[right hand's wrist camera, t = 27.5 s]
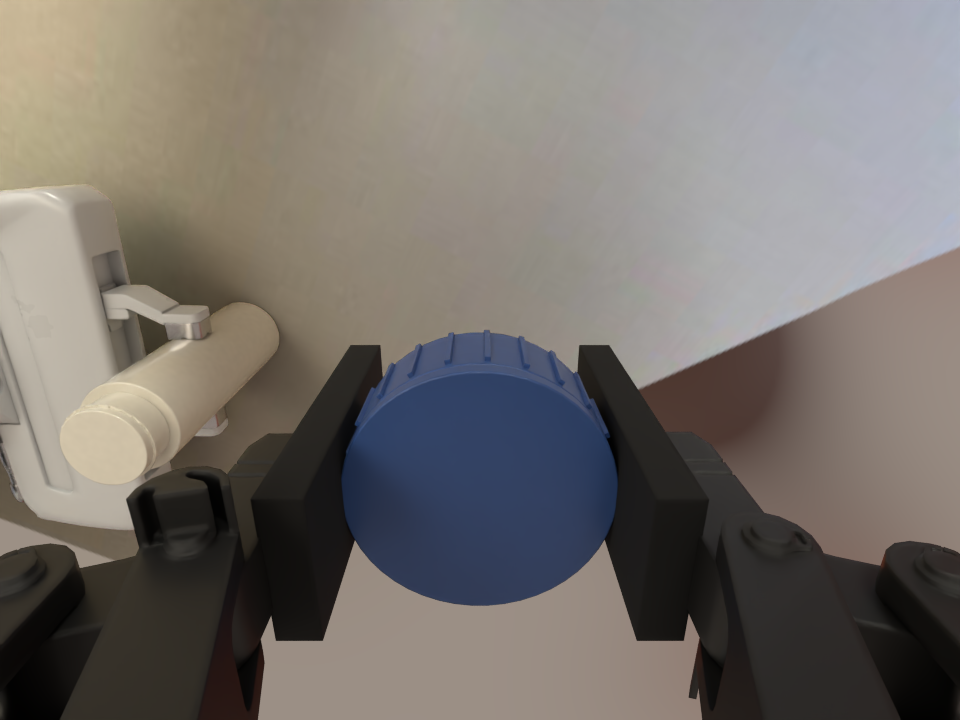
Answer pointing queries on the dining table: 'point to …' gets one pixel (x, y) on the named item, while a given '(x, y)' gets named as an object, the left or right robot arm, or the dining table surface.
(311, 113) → the dining table surface
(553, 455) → the lid
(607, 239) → the dining table surface
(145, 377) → the jar
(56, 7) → the dining table surface
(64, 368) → the left robot arm
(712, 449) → the right robot arm
